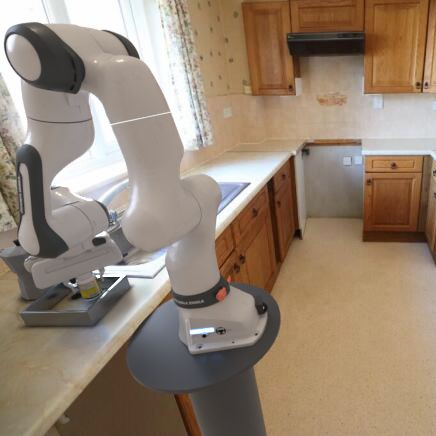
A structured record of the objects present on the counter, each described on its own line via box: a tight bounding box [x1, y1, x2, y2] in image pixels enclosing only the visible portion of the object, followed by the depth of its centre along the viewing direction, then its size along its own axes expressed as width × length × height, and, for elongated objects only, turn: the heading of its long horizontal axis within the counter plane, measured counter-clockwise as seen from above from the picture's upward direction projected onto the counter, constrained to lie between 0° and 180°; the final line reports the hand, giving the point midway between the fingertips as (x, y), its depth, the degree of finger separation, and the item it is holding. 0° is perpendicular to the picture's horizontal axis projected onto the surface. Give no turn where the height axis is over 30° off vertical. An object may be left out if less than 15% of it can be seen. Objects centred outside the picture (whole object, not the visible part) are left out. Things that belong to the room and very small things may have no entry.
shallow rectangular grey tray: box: [18, 274, 131, 327], centre depth 91 cm, size 19×17×4 cm
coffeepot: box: [0, 238, 54, 301], centre depth 96 cm, size 15×9×18 cm, turn 90°
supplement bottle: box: [75, 271, 103, 302], centre depth 92 cm, size 5×5×8 cm
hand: (89, 285), depth 93 cm, fingers closed on supplement bottle, 5 cm apart
